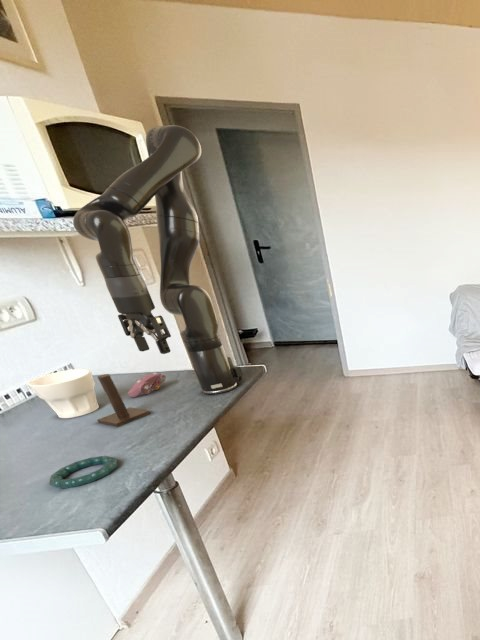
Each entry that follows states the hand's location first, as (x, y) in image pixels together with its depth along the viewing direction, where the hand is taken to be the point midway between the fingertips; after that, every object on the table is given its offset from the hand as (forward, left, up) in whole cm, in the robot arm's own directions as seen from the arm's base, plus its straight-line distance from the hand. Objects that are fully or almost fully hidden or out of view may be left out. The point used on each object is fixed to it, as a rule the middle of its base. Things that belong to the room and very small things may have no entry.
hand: (155, 351), depth 116 cm
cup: (+11, -25, -17) cm, 32 cm away
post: (+10, -7, -17) cm, 21 cm away
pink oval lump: (-5, -20, -17) cm, 27 cm away
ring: (+31, +16, -16) cm, 38 cm away
